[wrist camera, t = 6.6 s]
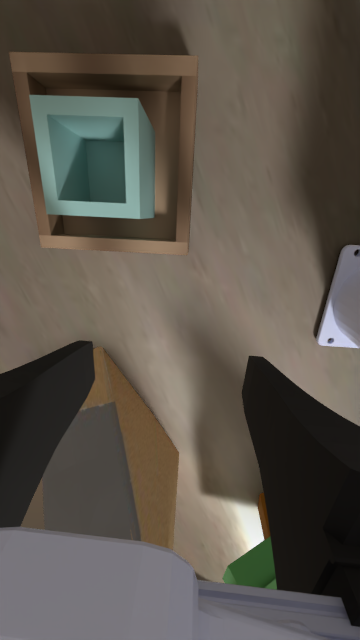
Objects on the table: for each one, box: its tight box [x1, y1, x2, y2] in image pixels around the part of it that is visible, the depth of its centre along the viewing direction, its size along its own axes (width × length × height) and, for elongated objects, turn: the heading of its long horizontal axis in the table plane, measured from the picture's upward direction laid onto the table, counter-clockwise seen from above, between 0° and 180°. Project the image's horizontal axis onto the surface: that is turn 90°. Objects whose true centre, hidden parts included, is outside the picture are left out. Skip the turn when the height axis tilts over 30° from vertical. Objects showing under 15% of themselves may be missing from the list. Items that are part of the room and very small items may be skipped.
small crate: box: [29, 95, 155, 219], centre depth 15 cm, size 5×5×5 cm
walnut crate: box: [9, 52, 198, 255], centre depth 16 cm, size 10×10×2 cm
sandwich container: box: [42, 347, 179, 550], centre depth 19 cm, size 9×15×15 cm, turn 28°
